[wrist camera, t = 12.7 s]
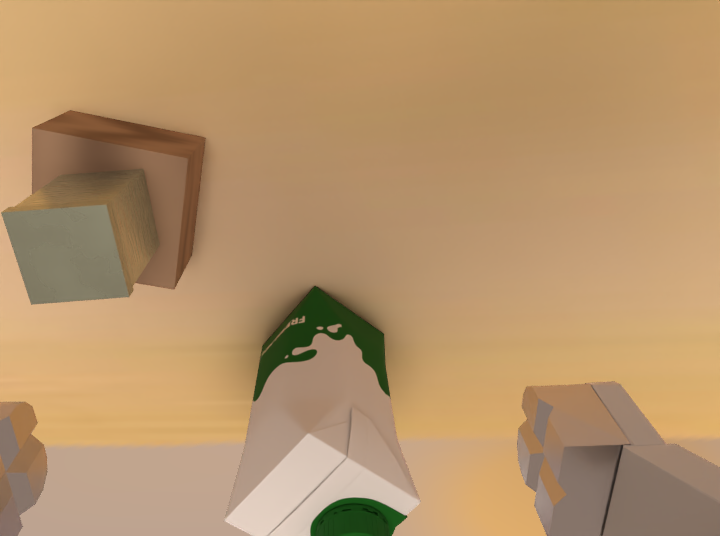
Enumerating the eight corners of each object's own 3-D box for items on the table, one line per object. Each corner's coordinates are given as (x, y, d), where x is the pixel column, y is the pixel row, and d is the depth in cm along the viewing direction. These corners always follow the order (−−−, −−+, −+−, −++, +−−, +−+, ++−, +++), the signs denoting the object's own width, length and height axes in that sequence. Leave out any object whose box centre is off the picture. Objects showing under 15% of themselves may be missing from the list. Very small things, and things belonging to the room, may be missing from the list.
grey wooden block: (144, 167, 37) (106, 204, 30) (161, 246, 39) (129, 296, 32) (58, 173, 37) (1, 212, 30) (80, 252, 39) (31, 304, 32)
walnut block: (205, 137, 42) (188, 158, 37) (192, 253, 46) (174, 289, 40) (71, 109, 41) (32, 128, 35) (68, 232, 44) (32, 265, 39)
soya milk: (332, 402, 52) (336, 624, 34) (245, 346, 49) (197, 555, 31) (400, 331, 49) (444, 531, 31) (311, 268, 46) (303, 447, 28)
